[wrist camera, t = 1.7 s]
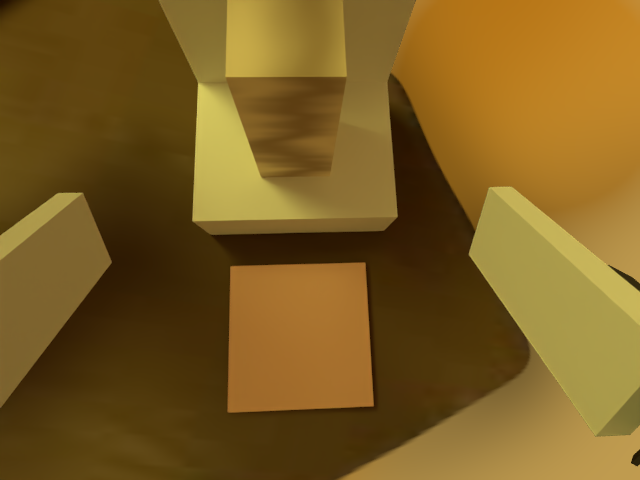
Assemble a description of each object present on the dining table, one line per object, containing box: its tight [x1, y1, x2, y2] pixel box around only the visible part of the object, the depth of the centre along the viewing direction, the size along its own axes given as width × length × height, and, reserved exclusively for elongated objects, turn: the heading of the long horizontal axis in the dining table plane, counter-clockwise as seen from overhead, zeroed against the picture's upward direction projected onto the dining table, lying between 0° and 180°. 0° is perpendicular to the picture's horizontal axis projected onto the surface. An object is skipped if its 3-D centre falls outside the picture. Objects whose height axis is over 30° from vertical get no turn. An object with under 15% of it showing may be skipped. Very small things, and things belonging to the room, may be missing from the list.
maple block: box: [225, 0, 347, 177], centre depth 22 cm, size 6×5×12 cm
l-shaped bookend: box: [159, 0, 416, 235], centre depth 21 cm, size 16×14×24 cm
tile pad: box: [228, 263, 374, 413], centre depth 29 cm, size 12×12×1 cm
